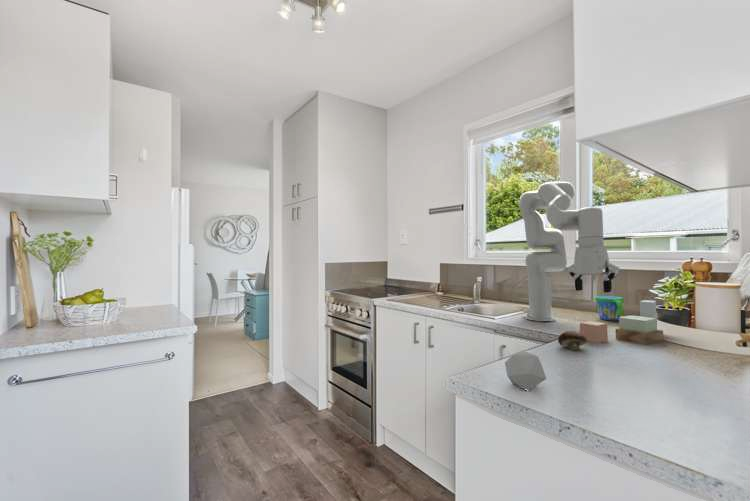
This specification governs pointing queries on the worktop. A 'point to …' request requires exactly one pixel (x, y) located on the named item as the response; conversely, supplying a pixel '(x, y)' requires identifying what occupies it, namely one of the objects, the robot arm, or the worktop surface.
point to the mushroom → (572, 340)
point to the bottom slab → (640, 336)
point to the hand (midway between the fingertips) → (592, 291)
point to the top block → (638, 323)
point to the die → (525, 370)
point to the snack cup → (609, 307)
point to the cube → (594, 331)
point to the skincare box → (648, 309)
